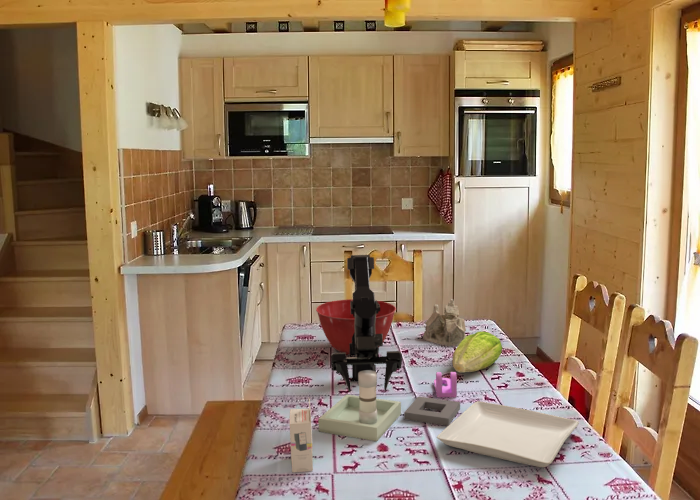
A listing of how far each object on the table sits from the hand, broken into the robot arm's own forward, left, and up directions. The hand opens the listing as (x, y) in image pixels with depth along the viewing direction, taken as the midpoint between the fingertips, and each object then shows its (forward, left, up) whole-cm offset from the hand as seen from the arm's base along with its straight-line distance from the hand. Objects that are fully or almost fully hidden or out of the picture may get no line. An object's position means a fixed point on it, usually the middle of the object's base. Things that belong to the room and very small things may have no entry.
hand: (367, 390), depth 172 cm
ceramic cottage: (-2, +82, -10) cm, 82 cm away
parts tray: (-2, +1, -9) cm, 10 cm away
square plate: (+36, +4, -10) cm, 37 cm away
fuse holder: (+14, +13, -9) cm, 21 cm away
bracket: (+12, +32, -10) cm, 35 cm away
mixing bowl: (-28, +60, -10) cm, 67 cm away
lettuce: (+16, +54, -10) cm, 57 cm away
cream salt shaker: (0, +1, -9) cm, 9 cm away
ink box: (-6, -25, -10) cm, 28 cm away
